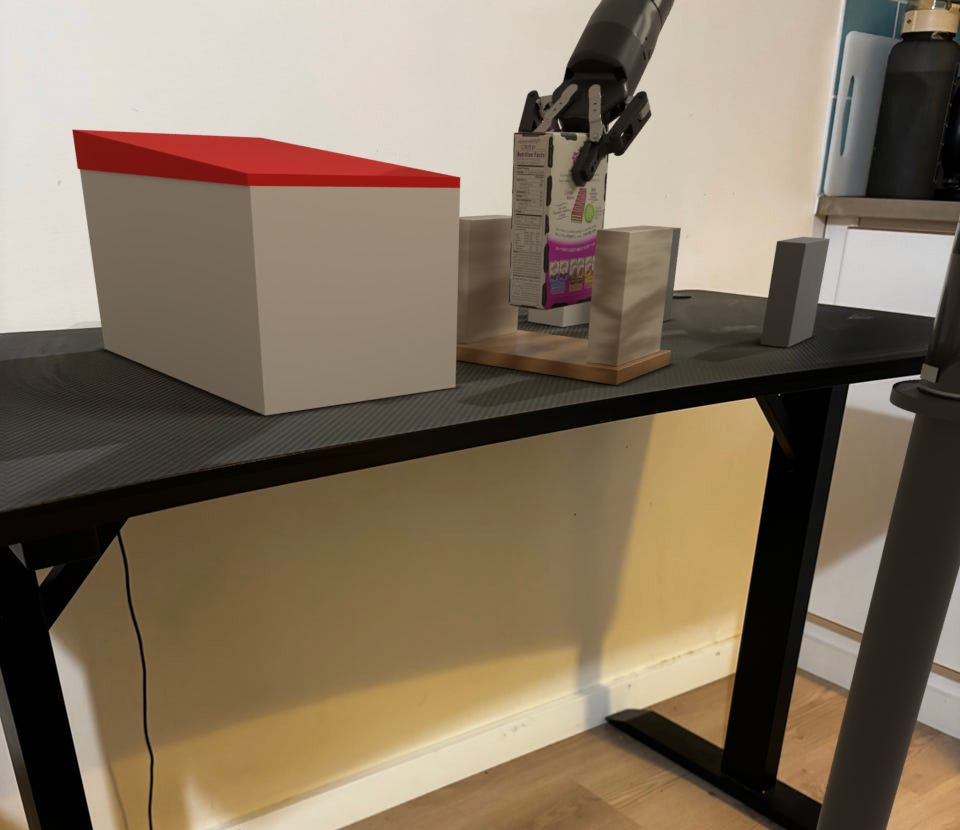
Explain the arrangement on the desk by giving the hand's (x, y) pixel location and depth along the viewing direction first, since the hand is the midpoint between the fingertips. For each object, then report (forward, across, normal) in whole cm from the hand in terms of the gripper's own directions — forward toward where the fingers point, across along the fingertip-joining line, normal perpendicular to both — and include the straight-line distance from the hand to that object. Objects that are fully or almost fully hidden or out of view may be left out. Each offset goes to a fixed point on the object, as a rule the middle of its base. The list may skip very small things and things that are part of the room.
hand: (552, 178), depth 97 cm
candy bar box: (+8, 0, +10) cm, 13 cm away
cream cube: (-6, -12, +32) cm, 35 cm away
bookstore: (+28, -20, -2) cm, 34 cm away
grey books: (-12, +7, +37) cm, 40 cm away
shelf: (+12, 0, +14) cm, 18 cm away
